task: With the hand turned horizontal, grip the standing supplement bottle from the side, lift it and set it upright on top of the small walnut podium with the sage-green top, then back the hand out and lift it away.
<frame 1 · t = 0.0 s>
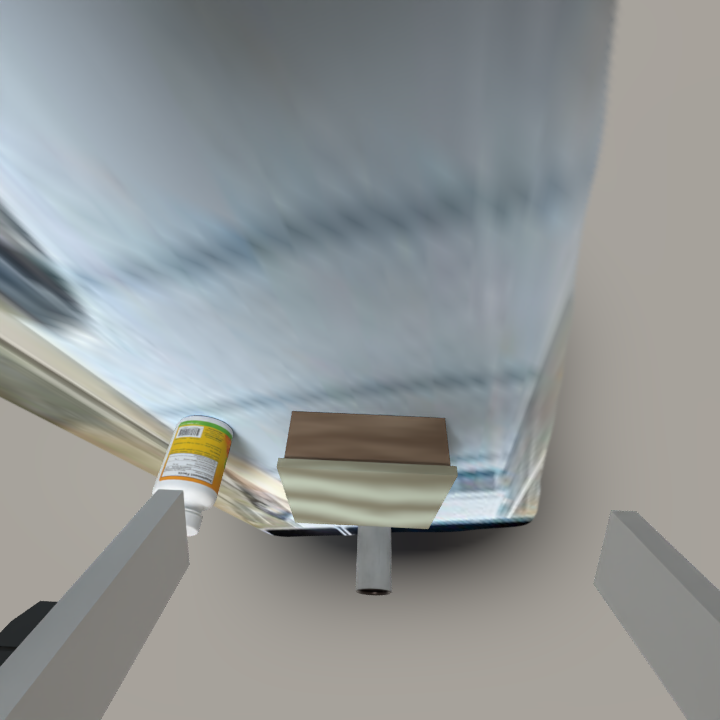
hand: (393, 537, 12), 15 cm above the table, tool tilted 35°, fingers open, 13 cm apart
podium: (365, 449, 41), on the table
supplement bottle: (207, 426, 39), on the table
grey hollow cylinder: (374, 508, 56), on the table
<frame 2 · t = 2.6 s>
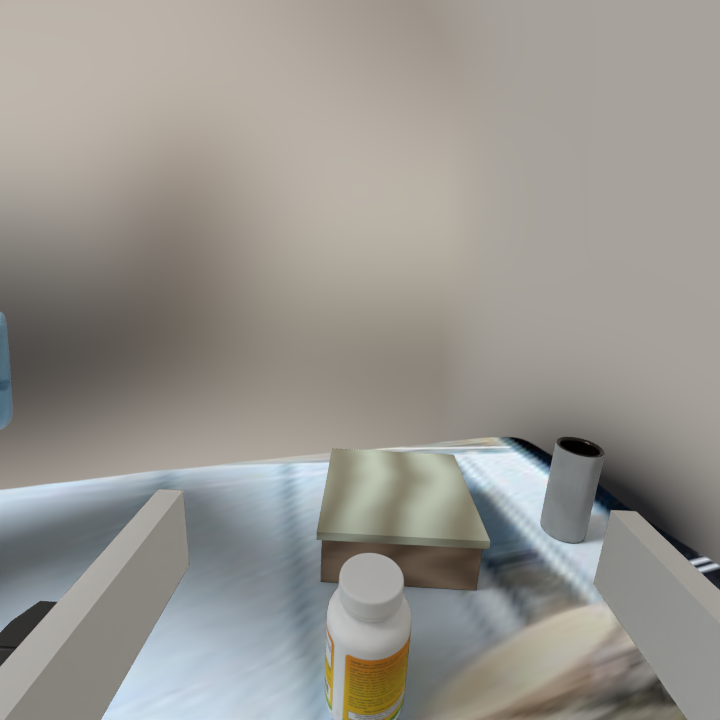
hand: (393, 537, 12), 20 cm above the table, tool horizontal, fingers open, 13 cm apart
podium: (393, 532, 42), on the table
supplement bottle: (363, 694, 27), on the table
grey hollow cylinder: (561, 530, 44), on the table
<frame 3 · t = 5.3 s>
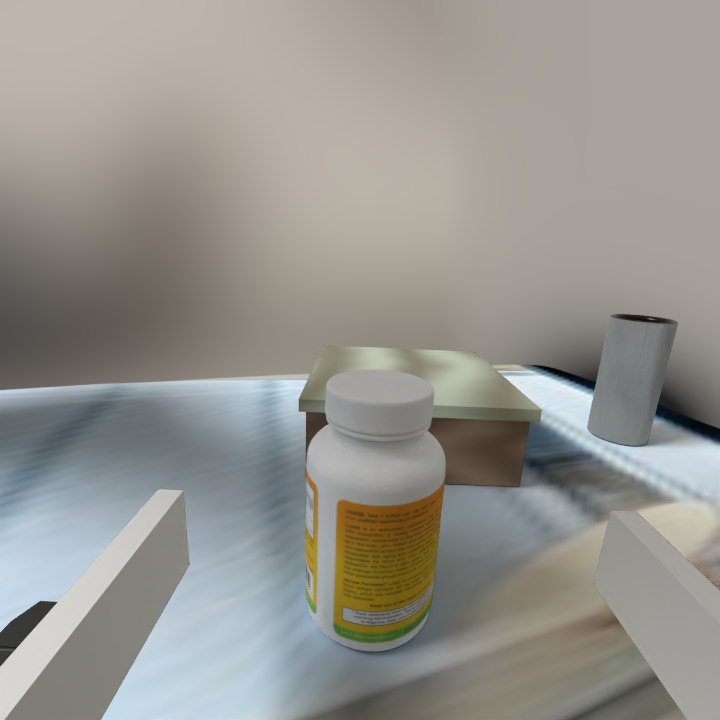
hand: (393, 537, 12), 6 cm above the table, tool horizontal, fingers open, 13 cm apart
podium: (402, 435, 32), on the table
supplement bottle: (367, 599, 17), on the table
grey hollow cylinder: (615, 436, 34), on the table
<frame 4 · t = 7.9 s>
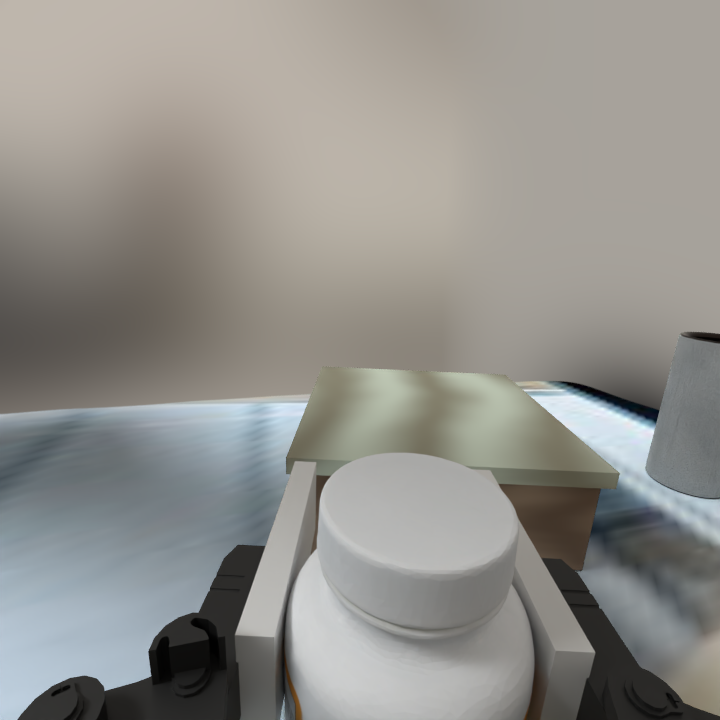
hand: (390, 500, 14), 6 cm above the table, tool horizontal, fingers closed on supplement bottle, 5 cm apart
podium: (420, 483, 26), on the table
grey hollow cylinder: (682, 482, 28), on the table
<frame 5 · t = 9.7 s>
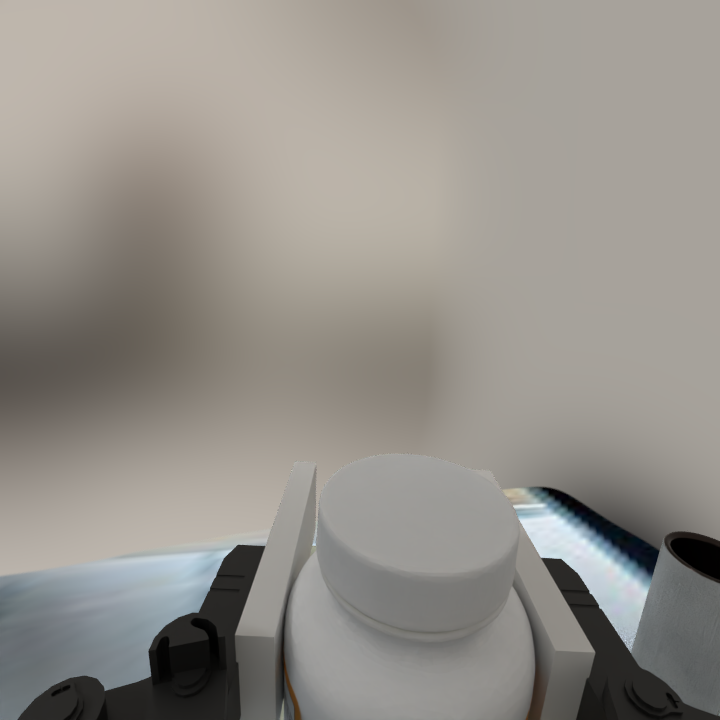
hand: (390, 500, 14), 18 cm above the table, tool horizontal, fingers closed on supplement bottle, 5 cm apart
grey hollow cylinder: (667, 692, 25), on the table
when the fingers open (12 cm above the table, at t = 11.9 s): supplement bottle stays where it is, resting on podium.
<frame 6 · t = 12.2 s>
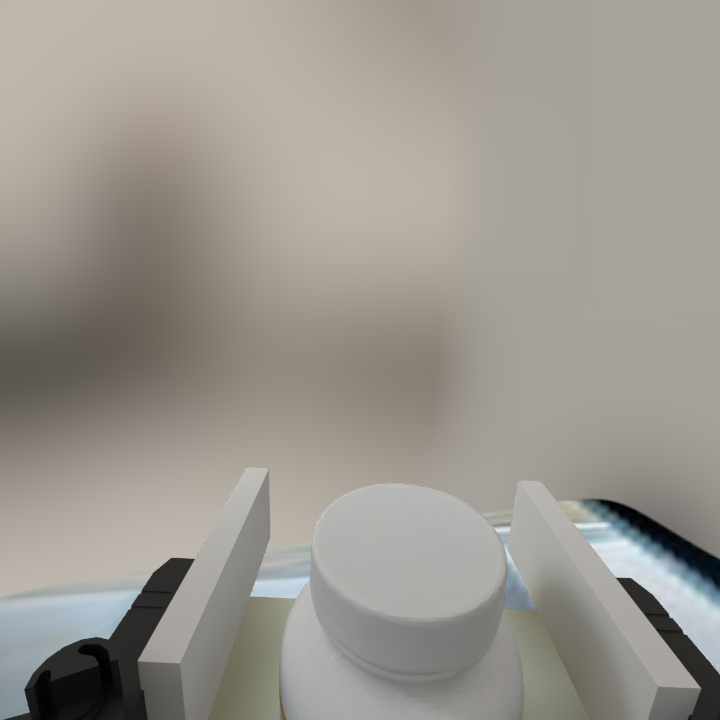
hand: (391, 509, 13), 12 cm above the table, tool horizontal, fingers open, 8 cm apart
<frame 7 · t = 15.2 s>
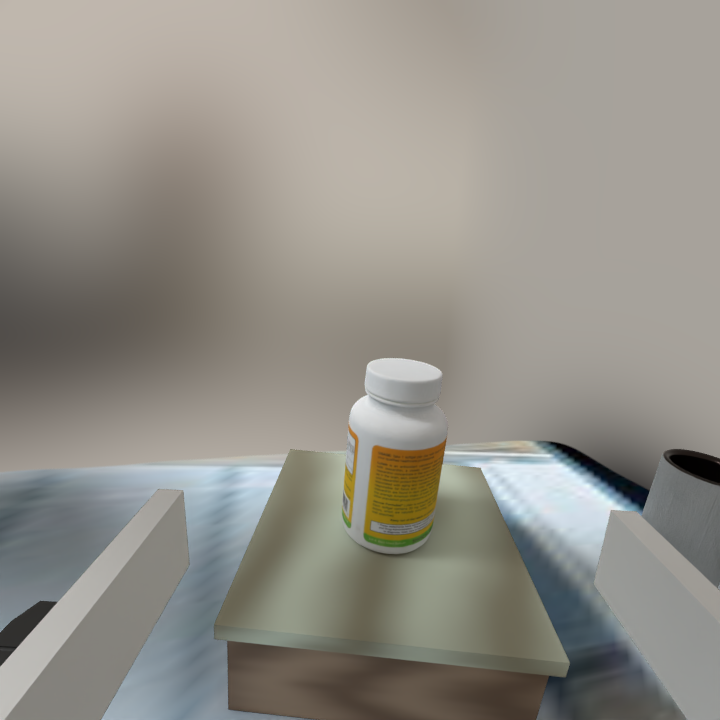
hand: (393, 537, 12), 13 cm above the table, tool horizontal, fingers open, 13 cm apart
podium: (377, 596, 25), on the table
supplement bottle: (385, 526, 23), point 5 cm above the table, touching podium
grey hollow cylinder: (657, 603, 26), on the table
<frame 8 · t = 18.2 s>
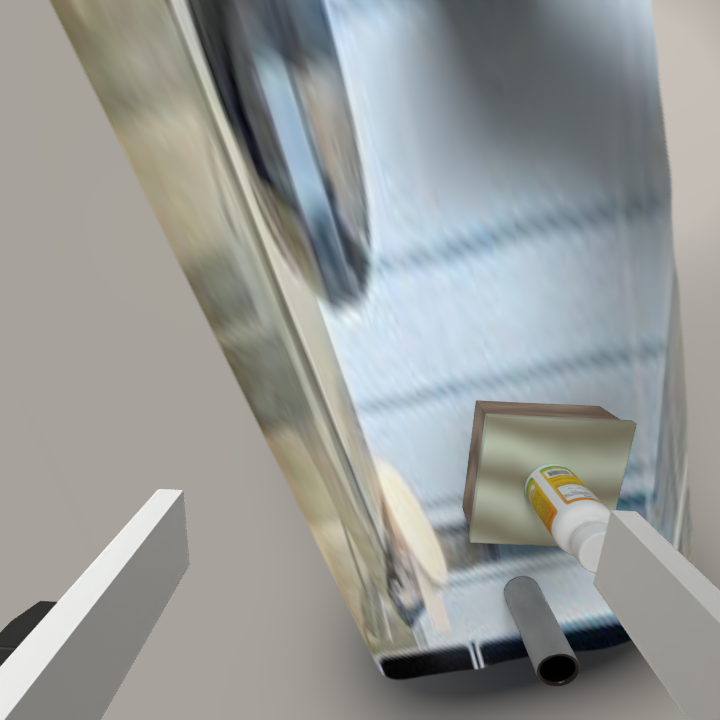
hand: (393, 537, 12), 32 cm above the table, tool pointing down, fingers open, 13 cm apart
podium: (528, 458, 46), on the table
supplement bottle: (548, 484, 41), point 5 cm above the table, touching podium
grey hollow cylinder: (520, 588, 51), on the table
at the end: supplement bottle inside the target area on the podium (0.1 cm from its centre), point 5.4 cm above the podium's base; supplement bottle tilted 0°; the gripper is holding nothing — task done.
